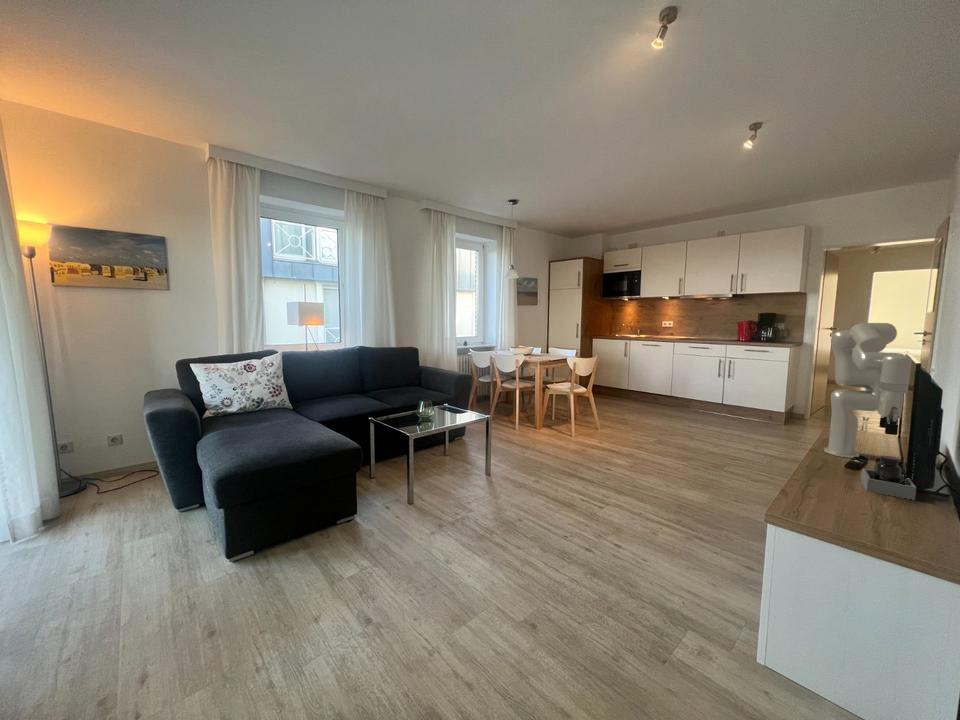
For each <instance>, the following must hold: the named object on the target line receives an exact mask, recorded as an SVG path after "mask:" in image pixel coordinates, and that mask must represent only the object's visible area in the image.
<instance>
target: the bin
mask: <svg viewBox="0 0 960 720" xmlns="http://www.w3.org/2000/svg"><path fill="white" fill-rule="evenodd" d="M860 477H861V478H860V481H861V483H862V484H863V487H864V489H865V491H866V492H867V493H874V494H879V495H883V494H884V496H888V495H890V496H889V497H894V496H896V497H895V498H899V497H900V499H904V498H907V499H906V500H909V499H912V500H911V501H914V500H916V494H917V485H915V484H914V483H913V481H912V480H911V479H910V478H906V479H905V485H903V484H898V483H892V482H886V481H881V480H875V479H874V478H875V470H873V469H868V468H862V469H861V476H860ZM903 481H904V474H901V478H900V483H902V482H903Z"/></svg>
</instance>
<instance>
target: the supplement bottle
mask: <svg viewBox="0 0 960 720" xmlns="http://www.w3.org/2000/svg"><path fill="white" fill-rule="evenodd" d="M901 475H902V467H900V465H899V458H897V457H895V456H889V455H880V458H879V461H878V462H877V463H875V478H874V479H875V480H881V481H886V482H892V483H898V484H900V478H901Z"/></svg>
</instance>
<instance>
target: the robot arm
mask: <svg viewBox="0 0 960 720" xmlns="http://www.w3.org/2000/svg"><path fill="white" fill-rule="evenodd" d="M897 332H898V331H897V328H896V326H895V325H893V324H892V323H888V322H860V323H857V324H854V325H853V326H852V327H851V328H850V329H847V330H846V329H843V330H838V331H835V332H834V333H832V335H831V337H830V346H831V350H832V352H833V354H834V355H833V356H834V358H835V364H834V365H835V366H834V369H835V371H834V377H835V378H834V379H835V383H836V385H838V386H839V387H840V386H841V387H844V388H845V387H846V388H847V387H848V388H862V389H864V390H861V389H860V390H859V389H858V390H857V389H846V388H845V389H837V390H833V392H832V393H831V394H830V403H831V418H830V428H829V437H828V438H829V439H828V446H826V447H824V448H823V451H824V452H825V453H827V454H829V455H833V456H836V457H841V458H847V459H855V458H854V457H857V458H859V457H860V454H859V452H856V447H857V446H856V444H857V436H858V427H859V418H858V417H857V416H856V414H855V413H854V412H853V411H861V412H863V411H864V412H876V411H877V413H878V415H880V418H879V423H878V424H879V428H883V429H884V434H885V435H890V436H892V435H893V436H897V435H898V433H899V419H901V417H902V411H903V404H904V394H908V391H909V385H910V378H911V370H912V363H913V362H912V357H910V356H907V355H904V354H902V353H900V352H883V350H885V348H886V347H887V345H888V344H890V343H892V342H893V341H895V340H896V337H897V334H898V333H897Z"/></svg>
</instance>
